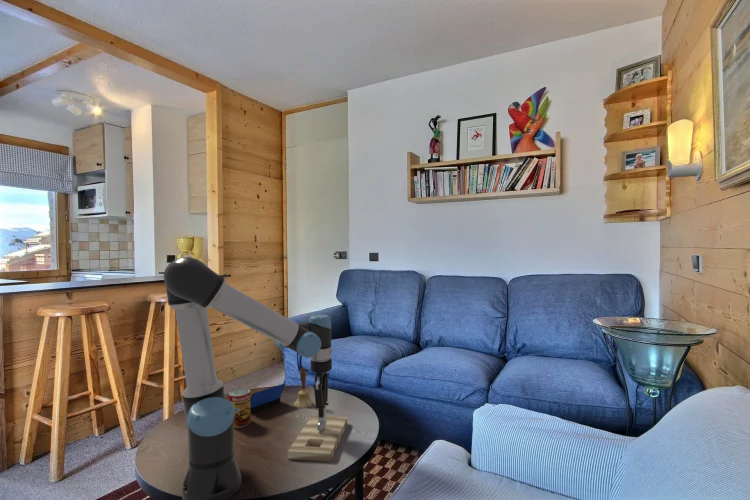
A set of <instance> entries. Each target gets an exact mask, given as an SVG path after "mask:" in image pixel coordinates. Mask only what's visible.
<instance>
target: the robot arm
mask: <svg viewBox="0 0 750 500" xmlns="http://www.w3.org/2000/svg"><path fill="white" fill-rule="evenodd" d="M163 281H164V284H165V289H166V291H165V292H166V297H167V304H168V306H169V307H171V308H172V309H174V312H175V318H176V324H177V329H178V336H179V344H180V351H181V357H182V364H183V370H184V378H185V384H186V387H185V388H184V390H183V391H182V392H181V393H182V396H181V397H182V402H183V407H184V409H183V410H184V411H183V414H184V419H185V422H186V427H187V437H188V438H187V439H188V468H187V471H186V473H185V478H184V479H183V480H184V481H183V484H182V487H181V499H182V500H228V499H230V498H231V497H233V496H234V495H236V494H237V492H239V490H240V488H241V486H242V474H241V473H242V472H241V471H240V467H239V465H238V463H237V460H236V457H235V433H234V432H235V428H234V410H233V405H232V403H231V402H230V401H229V398H228V399H227V398H226V396H225V395H226V394H225V389H224V388H225V387H224V382H223V381H221V380H220V379H218V377H217V376H218V375H217V368H216V364H215V363H216V362H215V357H214V356H215V355H214V350H213V342H212V336H211V328H210V322H209V316H208V309H209V308H212V309H214V310H216V311H217V312H218V311H219V313H222V314H223V315H225V316H227V317H229V318H231V319H233V320H235V321H236V322H239V323H241V324H243V325H245V326H246V327H249V328H250V329H252V330H254V331H256V332H258V333H259V334H262V335H263V336H265V337H267V338H269V339H271V340H273V341H275V344H276V347H277V348H279V349H287V348H288V349H290V350H291V351H293V352H296V354H298V355H299V356H301V357H304V358H307V359H309V358H310V362H309V363H310V371H311V372H313V373H315V376H314V382H315V383H313V385H312V387H313V391H314V399H315V400H314V401H315V402H314V403H315V409H317V416H318V423H319V422H323V423H324V424H325V426H326V424H327V423H326V417H327V406H329V404H330V403H329V401H328V400H329V398H328V397H329V376H330V374H329V372H330V371H331V370H332V369H333V366H332V365H333V363H332V361H333V360H332V353H334V350H333V349H332V321H331V317H330V316H329V315H327V314H314V315H311V316H310V317H309V320H308V321H309V322H302V323H301V322H300V323H296V322H294V321H293V320H291V319H290V318H287V317H286V316H284V315H282V314H280V313H279V312H277V311H275V310H274V309H272V308H270V307H268V306H267V305H265V304H263V303H261V302H260V301H258V300H256V299H255V298H252V297H251V296H249V295H247V294H246V293H244V292H242V291H240V290H238V289H237V288H235V287H233V286H232V285H230V284H228V283H227V280H226V278H225V277H223V276H221V275H219V274H218V273H217V272H215V271H213V270H212V269H211V268H210V267H209V266H207V265H206V264H205V263H204V262H203V261H202V260H200V259H197V258H195V257H191V256H182V257H178V258H176V259H174V260H172V261H170V263H168V265H167V266H166V267H165V270H164V272H163ZM207 308H208V309H207Z"/></svg>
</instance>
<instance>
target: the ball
mask: <svg viewBox="0 0 750 500" xmlns="http://www.w3.org/2000/svg"><path fill="white" fill-rule="evenodd" d="M316 428H317V431H319V432H323V431H324V430H325V428H326V426H325V424H324V423H323V422H319V423H318V424H317V426H316Z"/></svg>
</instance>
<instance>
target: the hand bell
mask: <svg viewBox="0 0 750 500" xmlns="http://www.w3.org/2000/svg"><path fill="white" fill-rule="evenodd" d="M306 371H307V370H306V368H305V366H303V367H301V368H300V372H299V376H300V377H299V378H300V381H301V390H299V391H298V393H297V399H296V401H295V402H294V403H293V406H294V407H295V408H297V409H305V408H306V409H307V408H311V407H312V406H313V405H314V401H313V400H312V399H311V396H310V392H309V390H307V389H306V388H307V387H306V379H307V372H306Z"/></svg>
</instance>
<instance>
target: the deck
mask: <svg viewBox="0 0 750 500" xmlns="http://www.w3.org/2000/svg"><path fill="white" fill-rule="evenodd" d="M326 423H327V424H326V428H325V430H324V431H323V432H319V431H317V428H316V426H317V424H318V415H317V416H316V415H311V416H310V417H309V418H308V421H307V422H306V423H305V425H304V426H303V428H302V430H300V432H299V433H298V435H297V437H296V438H295V440H294V441H293V443H292V444H291V445H290V447H289V448H288V450H287V460H297V461H315V462H317V461H319V462H332V460H333V457H334V455H335V453H336V451H337V448H338V446H339V444H340V442H341V440H342V437H343V435H344V432H345V430H346V428H347V426H348V417H346V416H326Z"/></svg>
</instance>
